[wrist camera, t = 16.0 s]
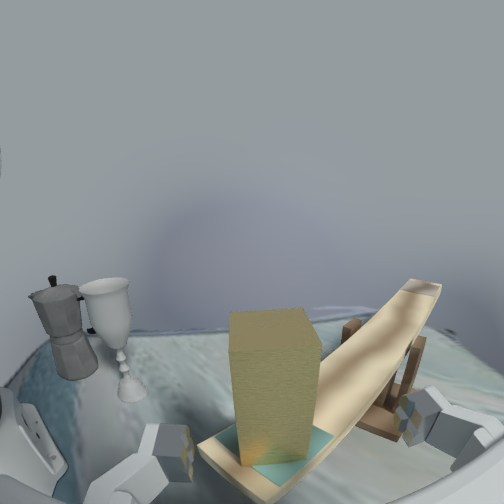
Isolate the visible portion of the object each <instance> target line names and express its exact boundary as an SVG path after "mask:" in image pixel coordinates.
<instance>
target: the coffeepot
mask: <svg viewBox="0 0 504 504" xmlns="http://www.w3.org/2000/svg"><path fill="white" fill-rule="evenodd" d="M48 280H49V282H50V285H51V287H49V288H47V289H44V290H40V291H37V292H35V293H32V294H31V295H30V296H28V297H29V298H30V299H32V301H33V303H34V306H35V308H36V311H37V313H38V315H39V318H40V320H41V322H42V324H43V327H44V329H45V331H46V333H47V334H49V335H50V338H51V346H52V351H53V356H54V361H55V365H56V369H57V374H58V375H59V376H61V377H62V378H64V379H66V380H80V379H84V378H86V377H88V376H90V375H92V374H93V373H94V372H95V371H96V369H97V368H98V361H97V357H96V355H95V353H94V351H93V349H92V347H91V345H90V343H89V341H88V339H87V337H86V335H85V333H84V332H83V330H82V319H81V311H80V300H85V299H84V297H83V296H82V295H81V293H80V292H79V288H78V286H75V285H68V284H63V285H57V283H56V276H53V275H52V276H50V277H48ZM87 332H88V333H89V334H96V332H95V330H94V329H93V327H92V328H90V329H87Z"/></svg>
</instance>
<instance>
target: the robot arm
mask: <svg viewBox="0 0 504 504" xmlns="http://www.w3.org/2000/svg"><path fill="white" fill-rule="evenodd" d="M0 176H1V150H0ZM398 403H399V407H398V408H397V409H396V410H395V412H394V416H393V418H394V424H395V427H396V428H397V430H399V431H401V432H403V435H402V438H403V439H404V441H405V442H406V444H407V446H408V447H411V446H413V445H416V444H419V443H421V442H424V441H425V442H426V443H428V444H430V445H432V446H434V447H435V448H437V449H439V450H441V451H443V452H445V453H447V454H449V455H451V456H453V457H455V458H456V460H455V461H454V462H453V464H452V465H451V467H450V469H451V471H452V473H450V474H449V475H447V476H445V477H443V478H441V479H440V480H438V481H436V482H434V483H432V484H430V485H428V486H426V487H424V488H422V489H420V490H417V491H415V492H413V493H411V494H409V495H406V496H404V497H402V498H399V499H397V500H394V501H392V502H389V503H387V504H504V426H503V425H502V424H501V423H500V422H499V421H498V420H497V419H496V418H495V417H493V416H489V415H486V414H482V413H479V412H476V411H472V410H469V409H466V408H463V407H460V406H456V405H453V406H452V405H451V404H450V403H449V402H448V401H447V400H446V399H445V398H444V397H443V396H442V395H441V394H440V392H439V391H438V390H437V389H436V388H435V387H434V386H432V385H430V386H427V387H425V388H422V389H419V390H416V391H413V392H410V393H407V394H404V395H402V396H401V397H400V398H399V401H398ZM194 456H195V450H194V442H193V439H192V438H191V437H190V429H189V426H188V425H176V424H163V423H151V422H148V423H147V424H146V426H145V429H144V432H143V435H142V439H141V442H140V445H139V448H138V452H137V453H133V454H131V455H130V456H129V457H127V458H126V459H124V460H123V461H122V462H120V463H119V464H118V465H116V466H115V467H113V468H112V469H110V470H109V471H108V472H106V473H105V474H103V475H102V476H100V477H99V478H97V479H96V480H94V481H93V482H91V483H90V486H89V489H88V491H87V494H86V497H85V500H84V502H83V504H150V503H151V502H152V501H153V500H154V498H155V497H156V496H157V495H158V494H159V493H160V492H161V491H162V490H163V489H164V488H165V487H166V486H167V485H168V484H169V482H186V483H192V477H193V467H192V465H191V463H192V462H193V461H194ZM55 458H56V459H55ZM54 459H55V460H54ZM67 468H68V465H67V462H66V461H65V459H64V458H63V456H62V454H61V453H60V451H59V449H58V448H57V446H56V444H55V443H54V441H53V439H52V437H51V435H50V434H49V432H48V430H47V428H46V426H45V424H44V422H43V420H42V418H41V416H40V414H39V412H38V410H37V409H36V407H35V406H34V405H32V404H27V403H20V402H19V401H18V399H17V397H16V395H15V394H14V392H13V391H12V390H10V389H7V388H3V387H0V504H68V503H65V502H63V501H60V500H58V499H55V498H53V497H52V494H53V491H54V488H55V485H56V483H57V481H58V480H59V479H60V478H61V477H62V476H63V474H64V473H65V472H66V470H67Z"/></svg>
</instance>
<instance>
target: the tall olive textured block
mask: <svg viewBox="0 0 504 504" xmlns="http://www.w3.org/2000/svg"><path fill="white" fill-rule="evenodd" d="M321 352H322V343H321V341H320V339H319V337H318V335H317V333H316V332H315V330H314V328H313V326H312V324H311V322H310V320H309V318H308V317H307V315H306V313H305V311H304V309H303V308H291V309H277V310H263V311H245V312H230V328H229V361H230V371H231V381H232V391H233V400H234V409H235V418H236V426H237V435H238V443H239V450H240V458H241V466H260V465H272V464H282V463H290V462H298V461H305V460H307V455H308V450H309V444H310V438H311V432H312V426H313V419H314V412H315V405H316V397H317V389H318V381H319V372H320V363H321Z"/></svg>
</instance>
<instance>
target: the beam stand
mask: <svg viewBox="0 0 504 504" xmlns="http://www.w3.org/2000/svg"><path fill="white" fill-rule="evenodd" d="M360 328H361V320H359V319H356V318H353V319H352V320H351V321H349V322H348V323H347V324H346V325H344V326H343V331H342V340H341V345H342V344H343V343H344V342H346V341H347V340H348V339H349V338H350V337H351V336H352V335H353V334H355V333H356V332H357V331H358V330H359V329H360ZM425 342H426V337H422V336H419V335H418V336H417V338H416V340H415V341H414V343H413V345H412V346H411V350H410V354H409V358H408V362H407V365H406V369H405V372H404V376H403V379H402V382H401V385H400V384H397V383H394V380H395V376H396V372H397V370H396V371H395V373H394V374H393V376H392V377H391V379H390V380H389V382H388V383H387V384H386V386H385V387H384V389H383V390H382V391H381V393H380V394H379V395H378V397H377V398H376V399H375V401H374V402H373V403H372V405H371V406H370V407H369V409H368V410H367V411H366V412H365V414H364V415H363V416H362V417H361V418H360V420H359V421H358V422H357V423H356V424H355V426H357V427H360V428H362V429H364V430H367V431H369V432H372V433H374V434H377V435H379V436H382V437H384V438H387V439H390V440H392V441H395V442H397V441H398V440H399V438H400V436H401V435H402V433H403V432H401V431H399V430H397V428H396V427H395V424H394V418H393V416H394V412H395V410H396V409H397V408H398V407H399V403H398V401H399V398H400V397H401V396H402V395H404V394H407V393H410V392H413V391H416V390H415V389H412V386H413V383H414V380H415V377H416V374H417V370H418V367H419V364H420V360H421V357H422V353H423V350H424V346H425ZM397 369H398V368H397Z"/></svg>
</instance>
